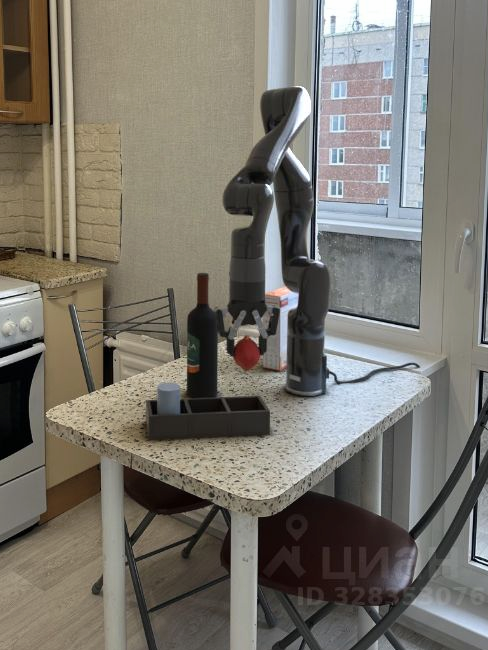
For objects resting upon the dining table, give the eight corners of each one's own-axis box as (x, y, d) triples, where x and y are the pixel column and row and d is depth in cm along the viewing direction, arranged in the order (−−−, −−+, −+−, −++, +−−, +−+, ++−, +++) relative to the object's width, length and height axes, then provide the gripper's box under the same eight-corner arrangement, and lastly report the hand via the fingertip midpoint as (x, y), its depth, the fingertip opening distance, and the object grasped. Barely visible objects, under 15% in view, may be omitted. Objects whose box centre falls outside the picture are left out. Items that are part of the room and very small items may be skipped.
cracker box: (284, 355, 197) (285, 284, 195) (302, 359, 193) (304, 287, 191) (260, 367, 185) (261, 293, 183) (280, 372, 182) (281, 296, 180)
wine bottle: (214, 401, 161) (215, 277, 158) (183, 398, 162) (184, 276, 160) (219, 389, 168) (220, 271, 166) (189, 387, 170) (190, 270, 167)
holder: (259, 417, 151) (260, 395, 151) (269, 434, 142) (270, 411, 142) (145, 422, 148) (145, 400, 148) (148, 440, 139) (148, 416, 139)
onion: (230, 366, 146) (231, 331, 145) (256, 366, 146) (257, 330, 146) (235, 376, 140) (235, 338, 139) (262, 375, 141) (262, 337, 140)
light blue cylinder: (178, 422, 147) (178, 382, 146) (181, 431, 142) (181, 390, 141) (155, 423, 146) (156, 383, 146) (157, 432, 141) (157, 391, 141)
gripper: (216, 281, 137) (216, 362, 138) (285, 279, 138) (284, 359, 140) (210, 274, 144) (210, 351, 146) (275, 272, 146) (274, 348, 148)
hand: (246, 354), depth 143 cm, fingers closed on onion, 5 cm apart
